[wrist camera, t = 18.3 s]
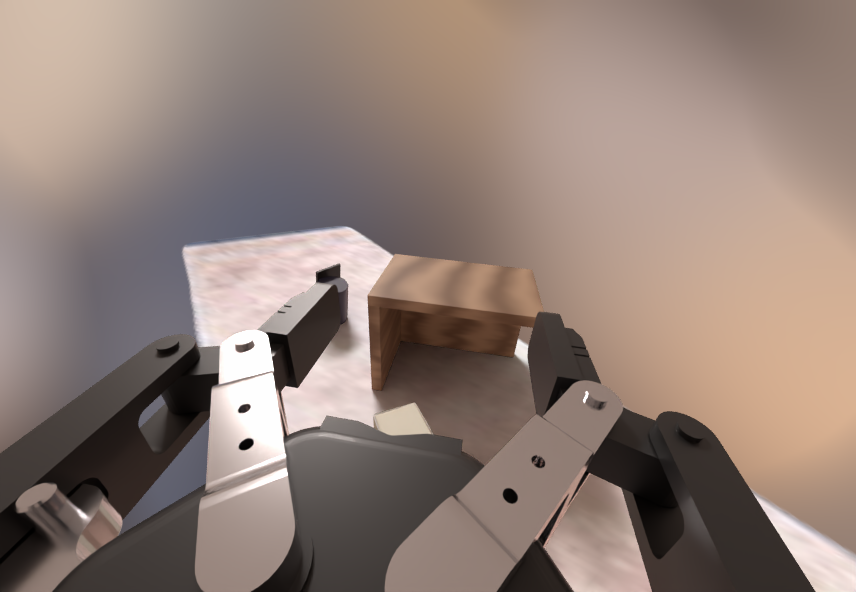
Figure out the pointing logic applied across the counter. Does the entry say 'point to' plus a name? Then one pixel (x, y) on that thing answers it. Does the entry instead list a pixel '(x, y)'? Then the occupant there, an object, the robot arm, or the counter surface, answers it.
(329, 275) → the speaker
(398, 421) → the skincare box
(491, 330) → the walnut shelf
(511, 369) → the counter surface
